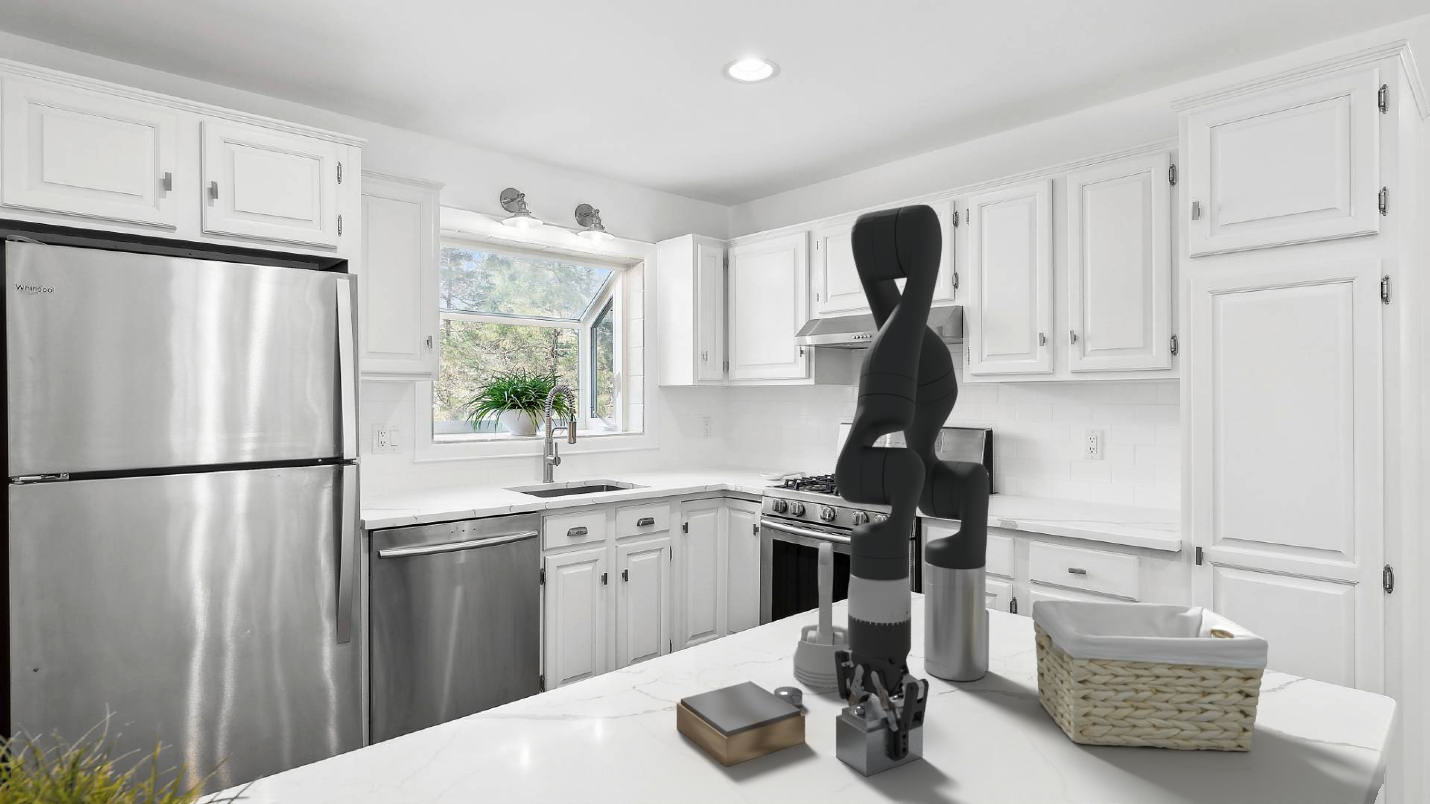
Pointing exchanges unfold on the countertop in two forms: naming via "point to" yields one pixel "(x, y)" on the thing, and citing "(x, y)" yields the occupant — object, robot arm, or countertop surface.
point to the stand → (740, 722)
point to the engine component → (821, 633)
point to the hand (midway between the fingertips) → (878, 747)
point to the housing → (871, 738)
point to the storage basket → (1148, 674)
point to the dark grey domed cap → (790, 695)
